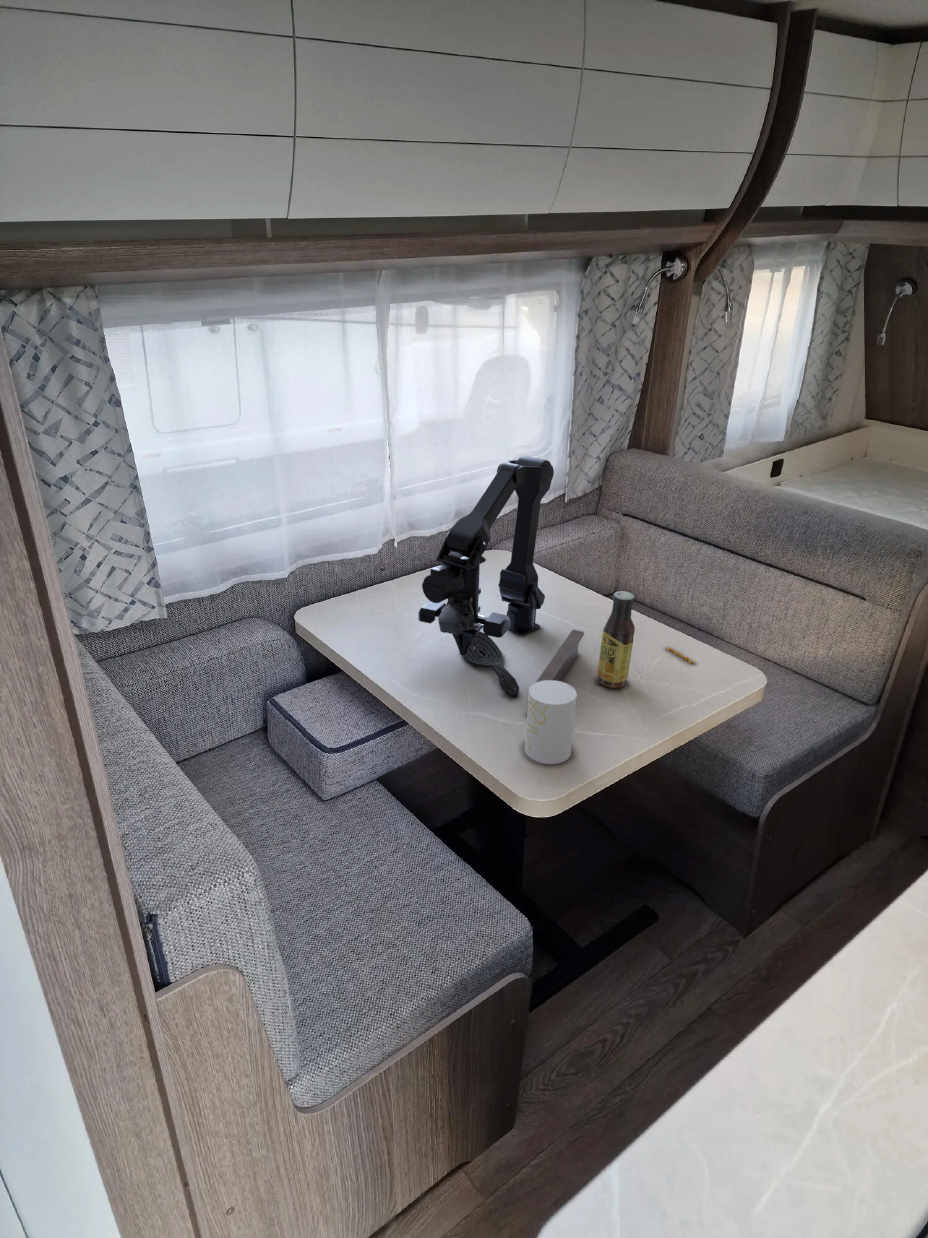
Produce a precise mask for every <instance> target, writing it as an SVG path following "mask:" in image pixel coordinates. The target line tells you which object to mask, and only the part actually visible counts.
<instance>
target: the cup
mask: <svg viewBox="0 0 928 1238" xmlns="http://www.w3.org/2000/svg"><path fill="white" fill-rule="evenodd" d="M577 695H578V694H577V691H576V689H575V688H574V687H573V686H572V685H570V684H569V683H566V682H564V681H554V680H545V681H540V682H537V683H536V682H535V683H533V684H531V685H530V686H529V688H528V698H527V699H528V701H527V702H528V703H527V714H526V727H525V728H526V729H525V745H524V752H525V754H526V756H528V757H529V758H530V759H531V760H532V761H534V762H537V763H541V764H544V765H556V764H557V765H558V764H561V763H563V762H566V761H567V760H568V759H570V757H571V755H572V747H573V746H572V745H573V736H574V725H575V714H576V706H577V705H576V703H577Z"/></svg>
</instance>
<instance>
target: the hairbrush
mask: <svg viewBox="0 0 928 1238" xmlns="http://www.w3.org/2000/svg"><path fill="white" fill-rule="evenodd" d="M463 658H464V659H465V662H466V663H467V664H470V665H471V666H474V667H475V668H481V669H492V670H493V672H494V673H495V674H496V676H497V679H498V682H499V686H500V688H501V689H502V690H503V691H504V694H505V695H506V696H508V697H510V698H511V699H515V698H518V696H519V693H520V692H519V691H520V687H519V684H518V683H517V679H516V678H515V677H514V676H513V675H512V674H511V673H510V671H508V670H507V669H506V667H504V665H503V660H504V656H503V654H502V651H501V649H500V648H499V646H498V645H497V644H496V642H495V641H494V640H493V639H492V638H491V636H487V635H486V634H485V633H484V632H483V629H481V630H480V631H479V632H478V633H477V634H476V635H474V637H473V639H472V641H471V644H470V646H469V648H468V650H467V653H466V654H465V655H464V656H463Z"/></svg>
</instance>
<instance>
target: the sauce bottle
mask: <svg viewBox="0 0 928 1238" xmlns="http://www.w3.org/2000/svg"><path fill="white" fill-rule="evenodd" d="M612 602H613V603H612V610H611V613H610V615H609V617H608V618H607V621H606V623H605V625H604V627H603V628H602V633H601V634H602V635H601V642H600V648H599V656H598V664H597V671H596V673H597V677H596V678H597V682H598V683H599V684H600V685H602V686H604V687H606V688H609V689H618V688H622V687H624V686H625V685H626V684H627V681H628V676H629V673H630V672H629V671H630V666H631V665H630V663H631V657H632V651H633V647H634V646H633V645H634V636H635V630H636V628H635V623H634V622H633V619H632V611H633V605H634V603H635V595H634V594H633V593H632V592H629V591H626V590H625V591H624V590H619V591H616V592H614V593H613V596H612Z"/></svg>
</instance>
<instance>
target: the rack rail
mask: <svg viewBox="0 0 928 1238" xmlns="http://www.w3.org/2000/svg"><path fill="white" fill-rule="evenodd" d="M584 636H585V631H583V630H577V629H572V630H571V631H570V633H569V634H568V635H567V637H566V638H565V640H564V641H563V643H562V644H561V646H560V647H559V648H558V649H557V651H556V652H555V654H554V655H553V657H552V659H551V660H550V661H549V663H548V664H547V665H546V666H545V668H544V669H543V671H542V673H541V674H540V675H539V677H538V678H537V680H536V681H535V683H537V682H540V681H545V680H554V681H560V682H562V679H563V678H564V677H565V675H566V673H567V672H568V670H569V668H570V667H571V665H572V664H573V663H574V661H575V659H576V658H577V657H578V652H579V644H580V642H581V640H582V639H583V637H584Z"/></svg>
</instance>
